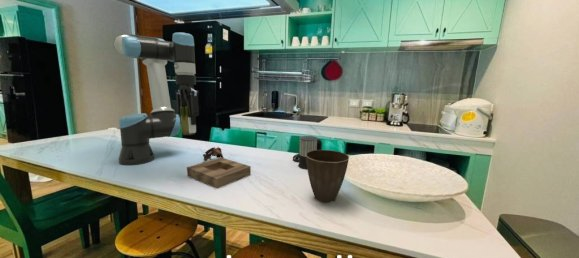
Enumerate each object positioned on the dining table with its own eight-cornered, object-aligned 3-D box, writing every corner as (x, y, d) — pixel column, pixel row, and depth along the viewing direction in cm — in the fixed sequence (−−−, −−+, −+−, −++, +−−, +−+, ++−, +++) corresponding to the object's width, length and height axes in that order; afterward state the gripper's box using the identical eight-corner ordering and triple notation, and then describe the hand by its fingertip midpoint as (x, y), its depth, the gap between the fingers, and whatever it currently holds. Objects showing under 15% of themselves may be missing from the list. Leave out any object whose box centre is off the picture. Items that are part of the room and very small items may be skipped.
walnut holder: (187, 175, 99) (186, 167, 99) (221, 165, 114) (221, 157, 113) (217, 188, 88) (216, 178, 87) (250, 174, 103) (250, 166, 102)
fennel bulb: (182, 136, 92) (180, 106, 90) (180, 134, 96) (178, 105, 94) (197, 135, 96) (196, 106, 93) (194, 133, 100) (193, 105, 98)
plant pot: (295, 198, 82) (297, 155, 79) (318, 185, 94) (320, 147, 91) (332, 213, 73) (335, 165, 70) (352, 197, 84) (356, 155, 81)
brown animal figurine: (222, 165, 115) (213, 152, 112) (207, 171, 117) (197, 159, 114) (229, 152, 126) (221, 140, 123) (215, 159, 128) (206, 147, 125)
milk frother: (311, 171, 109) (313, 140, 107) (283, 164, 117) (284, 136, 114) (323, 163, 122) (324, 135, 119) (296, 157, 129) (297, 131, 127)
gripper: (165, 74, 94) (169, 130, 98) (188, 73, 84) (192, 136, 88) (182, 75, 100) (186, 128, 104) (207, 74, 90) (209, 133, 93)
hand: (188, 131), depth 96 cm, fingers closed on fennel bulb, 5 cm apart
